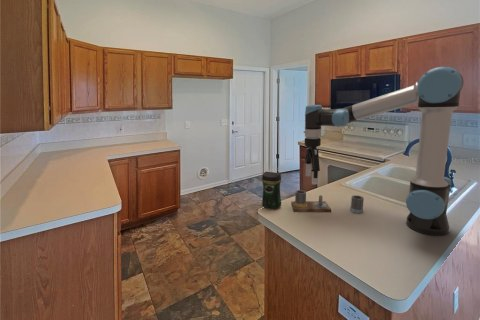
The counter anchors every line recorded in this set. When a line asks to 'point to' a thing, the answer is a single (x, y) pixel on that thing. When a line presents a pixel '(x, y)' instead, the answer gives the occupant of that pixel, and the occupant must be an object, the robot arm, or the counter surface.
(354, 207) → the grey octagonal sleeve
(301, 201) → the sleeve ochre
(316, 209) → the pin board
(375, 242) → the counter surface
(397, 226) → the counter surface
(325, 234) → the counter surface
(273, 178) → the coffee jar
